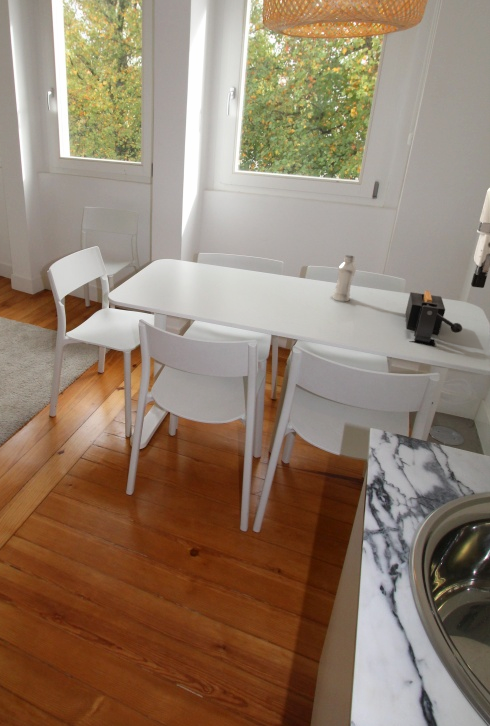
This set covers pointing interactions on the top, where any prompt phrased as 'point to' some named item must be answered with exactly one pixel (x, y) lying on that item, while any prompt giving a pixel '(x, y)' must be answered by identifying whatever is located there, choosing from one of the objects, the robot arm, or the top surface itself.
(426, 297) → the toast
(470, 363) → the top surface
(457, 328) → the toaster lever
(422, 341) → the lever bracket
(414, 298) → the toaster
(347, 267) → the plastic bottle
